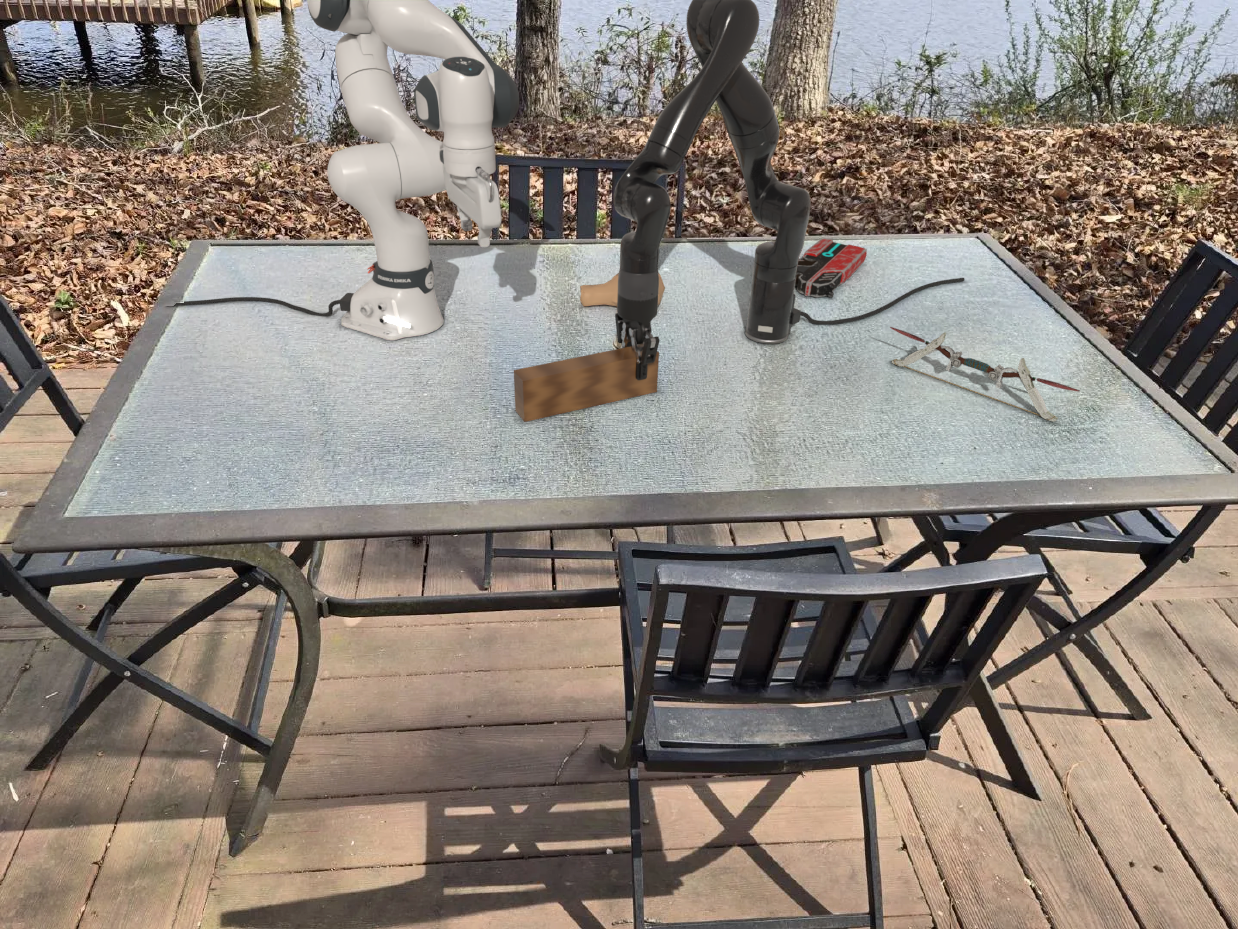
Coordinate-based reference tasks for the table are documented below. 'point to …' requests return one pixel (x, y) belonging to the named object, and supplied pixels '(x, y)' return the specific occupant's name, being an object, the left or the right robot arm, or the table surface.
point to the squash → (608, 293)
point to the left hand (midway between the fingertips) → (475, 237)
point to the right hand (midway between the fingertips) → (634, 372)
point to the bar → (580, 383)
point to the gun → (827, 267)
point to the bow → (994, 374)
